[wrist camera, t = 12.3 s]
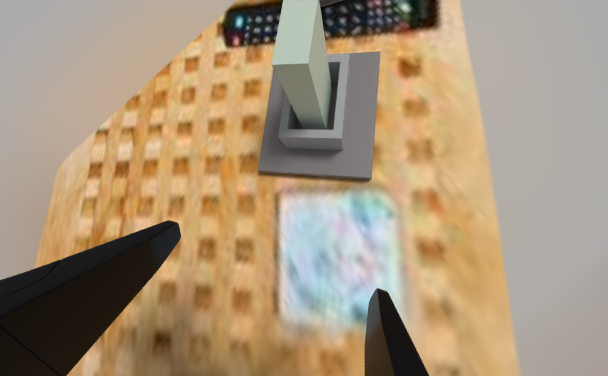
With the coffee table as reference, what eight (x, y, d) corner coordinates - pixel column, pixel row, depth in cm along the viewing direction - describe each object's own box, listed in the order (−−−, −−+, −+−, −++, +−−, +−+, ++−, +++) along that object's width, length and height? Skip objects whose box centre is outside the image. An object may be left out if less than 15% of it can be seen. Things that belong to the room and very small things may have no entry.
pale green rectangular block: (304, 132, 23) (271, 64, 14) (311, 85, 24) (284, -9, 15) (326, 132, 23) (308, 63, 13) (332, 85, 24) (319, -13, 14)
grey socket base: (261, 172, 25) (245, 162, 21) (278, 64, 27) (266, 37, 23) (370, 179, 22) (374, 169, 18) (379, 58, 24) (384, 26, 20)
